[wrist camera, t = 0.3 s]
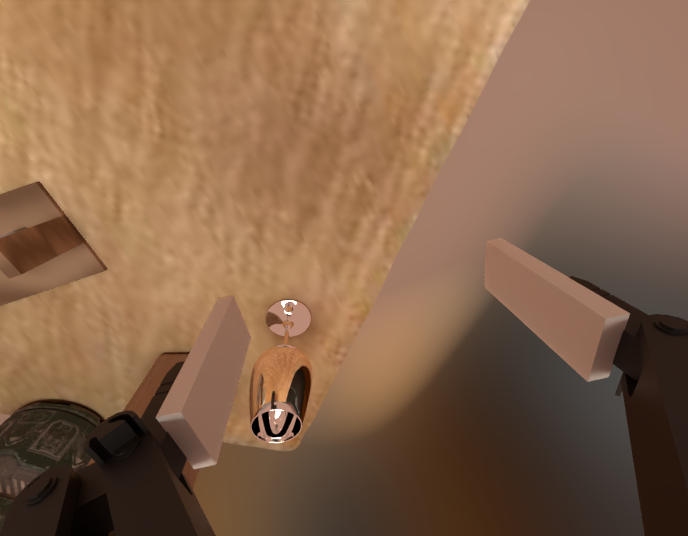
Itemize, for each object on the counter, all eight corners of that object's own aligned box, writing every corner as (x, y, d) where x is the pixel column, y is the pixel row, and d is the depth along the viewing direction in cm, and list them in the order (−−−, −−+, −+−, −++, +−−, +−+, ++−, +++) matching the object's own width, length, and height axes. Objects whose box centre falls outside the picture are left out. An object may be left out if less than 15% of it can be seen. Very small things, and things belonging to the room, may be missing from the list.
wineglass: (307, 295, 48) (306, 396, 30) (314, 332, 51) (317, 443, 33) (260, 302, 47) (230, 408, 29) (270, 339, 51) (249, 455, 33)
